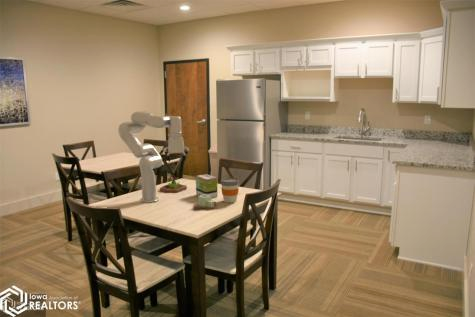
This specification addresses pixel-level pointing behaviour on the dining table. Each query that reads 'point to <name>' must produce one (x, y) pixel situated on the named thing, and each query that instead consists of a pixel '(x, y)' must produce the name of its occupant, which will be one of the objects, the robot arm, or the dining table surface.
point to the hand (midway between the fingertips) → (176, 161)
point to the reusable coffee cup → (230, 189)
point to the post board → (199, 207)
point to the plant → (173, 187)
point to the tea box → (206, 185)
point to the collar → (205, 201)
